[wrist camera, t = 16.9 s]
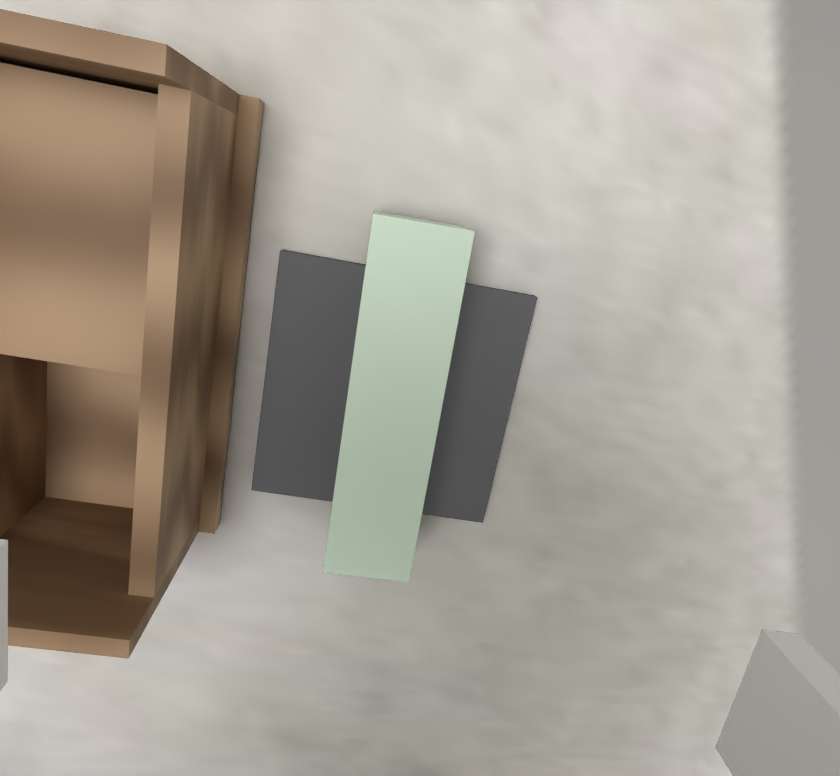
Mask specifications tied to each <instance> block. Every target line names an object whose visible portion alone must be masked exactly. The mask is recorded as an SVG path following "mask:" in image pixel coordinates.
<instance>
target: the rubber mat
mask: <svg viewBox="0 0 840 776" xmlns="http://www.w3.org/2000/svg"><path fill="white" fill-rule="evenodd" d="M365 267H366V265H364V264H358V263H353V262H347V261H342V260H336V259H331V258H325V257H320V256H314V255H309V254H303V253H298V252H292V251H287V250H281V251H280V256H279V264H278V272H277V281H276V289H275V298H274V306H273V314H272V323H271V331H270V339H269V348H268V356H267V365H266V373H265V381H264V390H263V398H262V406H261V415H260V423H259V432H258V440H257V448H256V457H255V465H254V473H253V482H252V490H255V491H262V492H269V493H276V494H283V495H290V496H297V497H304V498H311V499H319V500H326V501H333V495H334V488H335V481H336V474H337V467H338V460H339V452H340V445H341V438H342V431H343V424H344V417H345V410H346V403H347V396H348V388H349V381H350V374H351V367H352V360H353V353H354V346H355V339H356V332H357V324H358V317H359V310H360V303H361V296H362V289H363V282H364V275H365ZM536 300H537V297H536V296H534V295H528V294H523V293H517V292H512V291H507V290H501V289H496V288H490V287H485V286H479V285H474V284H468V283H465V287H464V293H463V298H462V303H461V309H460V314H459V319H458V325H457V330H456V335H455V341H454V346H453V351H452V357H451V362H450V367H449V373H448V378H447V383H446V388H445V394H444V399H443V404H442V410H441V415H440V420H439V426H438V431H437V436H436V442H435V447H434V452H433V458H432V463H431V468H430V474H429V479H428V484H427V490H426V495H425V500H424V506H423V511H422V514H425V515H433V516H440V517H447V518H454V519H461V520H468V521H475V522H482V523H483V520H484V516H485V512H486V508H487V504H488V499H489V495H490V491H491V487H492V483H493V479H494V475H495V470H496V466H497V462H498V458H499V454H500V450H501V446H502V441H503V437H504V433H505V429H506V425H507V421H508V416H509V412H510V408H511V404H512V400H513V396H514V392H515V387H516V383H517V379H518V375H519V371H520V367H521V363H522V358H523V354H524V350H525V346H526V342H527V338H528V334H529V329H530V325H531V321H532V317H533V313H534V309H535V305H536Z"/></svg>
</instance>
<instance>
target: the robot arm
mask: <svg viewBox="0 0 840 776" xmlns="http://www.w3.org/2000/svg"><path fill="white" fill-rule="evenodd" d="M7 682H8V540H4V539H0V691H1V689H2V688H3V687H4V685H5V684H6V683H7ZM716 749H717V751H718V752H719V754H720V755H721V757H722V759H723V760H724V762H725V763H726V765H727V767H728V768H729V770H730V771H731V773H732V775H733V776H840V674H839V673H838V672H837V671H836V670H835V669H834V668H833V667H832V666H831V665H830V664H829V663H828V662H827V661H826V660H825V659H824V658H823V657H822V656H821V655H820V654H819V653H818V652H817V651H816V650H815V649H814V648H813V647H812V646H811V645H810V644H809V643H808V642H807V641H806V640H805V639H804V638H803V637H802V636H801V635H800V634H796V633H787V632H779V631H770V630H762V631H761V633H760V636H759V639H758V641H757V644H756V646H755V649H754V651H753V654H752V656H751V659H750V661H749V664H748V666H747V669H746V671H745V674H744V676H743V679H742V682H741V684H740V687H739V689H738V692H737V694H736V697H735V699H734V702H733V704H732V707H731V709H730V712H729V714H728V717H727V719H726V722H725V724H724V727H723V730H722V732H721V735H720V737H719V740H718V742H717V745H716Z"/></svg>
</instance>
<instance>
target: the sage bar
mask: <svg viewBox="0 0 840 776" xmlns="http://www.w3.org/2000/svg"><path fill="white" fill-rule="evenodd" d="M474 234H475V231H473V230H471V229H469V228H466V227H464V226H459V225H453V224H448V223H442V222H436V221H430V220H424V219H419V218H413V217H407V216H401V215H395V214H390V213H384V212H378V211H374V213H373V218H372V225H371V232H370V239H369V246H368V253H367V260H366V267H365V275H364V282H363V289H362V296H361V303H360V310H359V317H358V324H357V332H356V339H355V346H354V353H353V360H352V367H351V374H350V381H349V388H348V396H347V403H346V410H345V417H344V424H343V431H342V438H341V445H340V452H339V460H338V467H337V474H336V481H335V488H334V495H333V502H332V509H331V516H330V524H329V531H328V538H327V545H326V552H325V559H324V566H323V573H328V574H337V575H346V576H355V577H364V578H373V579H382V580H391V581H400V582H409V580H410V575H411V570H412V564H413V559H414V554H415V548H416V543H417V538H418V532H419V527H420V522H421V516H422V511H423V506H424V500H425V495H426V490H427V484H428V479H429V474H430V468H431V463H432V458H433V452H434V447H435V442H436V436H437V431H438V426H439V420H440V415H441V410H442V404H443V399H444V394H445V388H446V383H447V378H448V373H449V367H450V362H451V357H452V351H453V346H454V341H455V335H456V330H457V325H458V319H459V314H460V309H461V303H462V298H463V293H464V287H465V282H466V277H467V271H468V266H469V261H470V255H471V250H472V245H473V239H474Z"/></svg>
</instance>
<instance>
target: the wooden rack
mask: <svg viewBox="0 0 840 776" xmlns="http://www.w3.org/2000/svg"><path fill="white" fill-rule="evenodd" d="M263 104H264V102H263V101H261V100H260V99H258V98H253V97H248V96H243V95H239V94H238V93H236V92H235V91H233V90H232V89H231V88H229V87H228V86H226V85H225V84H223V83H222V82H220V81H219V80H217V79H216V78H215V77H213V76H212V75H210V74H209V73H207V72H206V71H204V70H203V69H201V68H200V67H199V66H197V65H196V64H194V63H193V62H191V61H190V60H188V59H187V58H185V57H184V56H183V55H181V54H180V53H178V52H177V51H175V50H174V49H172V48H171V47H169V46H168V45H167V44H162V43H157V42H152V41H148V40H143V39H138V38H134V37H129V36H124V35H120V34H115V33H110V32H106V31H101V30H96V29H91V28H87V27H82V26H77V25H73V24H68V23H63V22H59V21H54V20H49V19H44V18H40V17H35V16H30V15H26V14H21V13H16V12H12V11H7V10H2V9H0V539H4V540H8V645H10V646H20V647H29V648H38V649H47V650H56V651H65V652H74V653H83V654H93V655H102V656H111V657H120V658H129V657H130V655H131V653H132V651H133V649H134V648H135V646H136V644H137V642H138V640H139V638H140V637H141V635H142V633H143V631H144V629H145V628H146V626H147V624H148V622H149V620H150V618H151V617H152V615H153V613H154V611H155V609H156V608H157V606H158V604H159V602H160V600H161V598H162V597H163V595H164V593H165V591H166V589H167V588H168V586H169V584H170V582H171V580H172V578H173V577H174V575H175V573H176V571H177V569H178V568H179V566H180V564H181V562H182V560H183V558H184V557H185V555H186V553H187V551H188V549H189V548H190V546H191V544H192V542H193V540H194V538H195V537H196V535H197V533H198V531H199V532H207V533H214V534H215V532H216V530H217V528H218V526H219V523H220V514H221V504H222V495H223V485H224V476H225V466H226V457H227V447H228V438H229V428H230V419H231V409H232V399H233V390H234V380H235V371H236V361H237V352H238V342H239V333H240V323H241V314H242V304H243V295H244V285H245V276H246V266H247V256H248V247H249V237H250V228H251V218H252V209H253V199H254V190H255V180H256V171H257V161H258V152H259V142H260V132H261V123H262V113H263Z"/></svg>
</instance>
